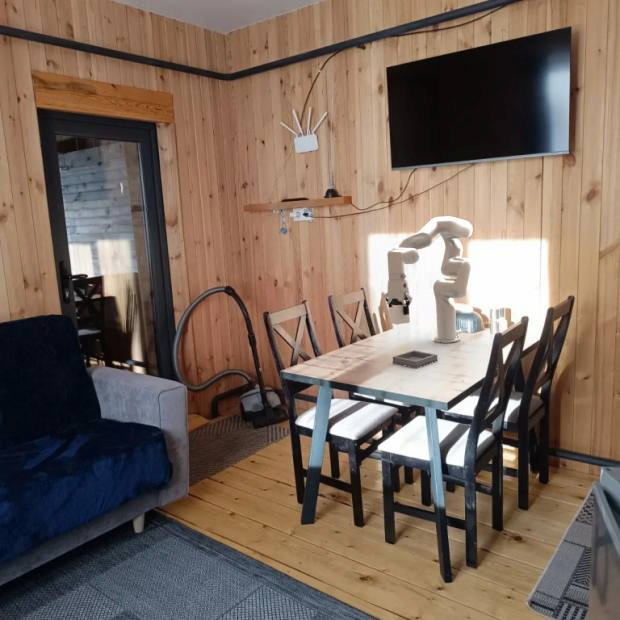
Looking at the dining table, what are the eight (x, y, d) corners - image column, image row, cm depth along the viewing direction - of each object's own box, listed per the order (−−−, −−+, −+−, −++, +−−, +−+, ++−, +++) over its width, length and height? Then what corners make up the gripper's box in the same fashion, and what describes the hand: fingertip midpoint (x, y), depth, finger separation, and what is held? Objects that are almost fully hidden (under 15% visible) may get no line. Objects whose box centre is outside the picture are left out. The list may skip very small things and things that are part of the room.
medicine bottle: (410, 322, 271) (408, 297, 268) (395, 324, 269) (394, 299, 267) (403, 320, 277) (401, 295, 275) (389, 322, 275) (387, 297, 273)
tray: (413, 356, 272) (413, 350, 271) (437, 361, 261) (437, 354, 260) (392, 363, 263) (392, 356, 263) (416, 368, 252) (416, 361, 252)
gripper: (416, 276, 265) (418, 313, 268) (389, 274, 278) (391, 310, 281) (405, 278, 260) (407, 316, 263) (377, 277, 274) (380, 313, 277)
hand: (398, 313), depth 272 cm, fingers closed on medicine bottle, 8 cm apart
